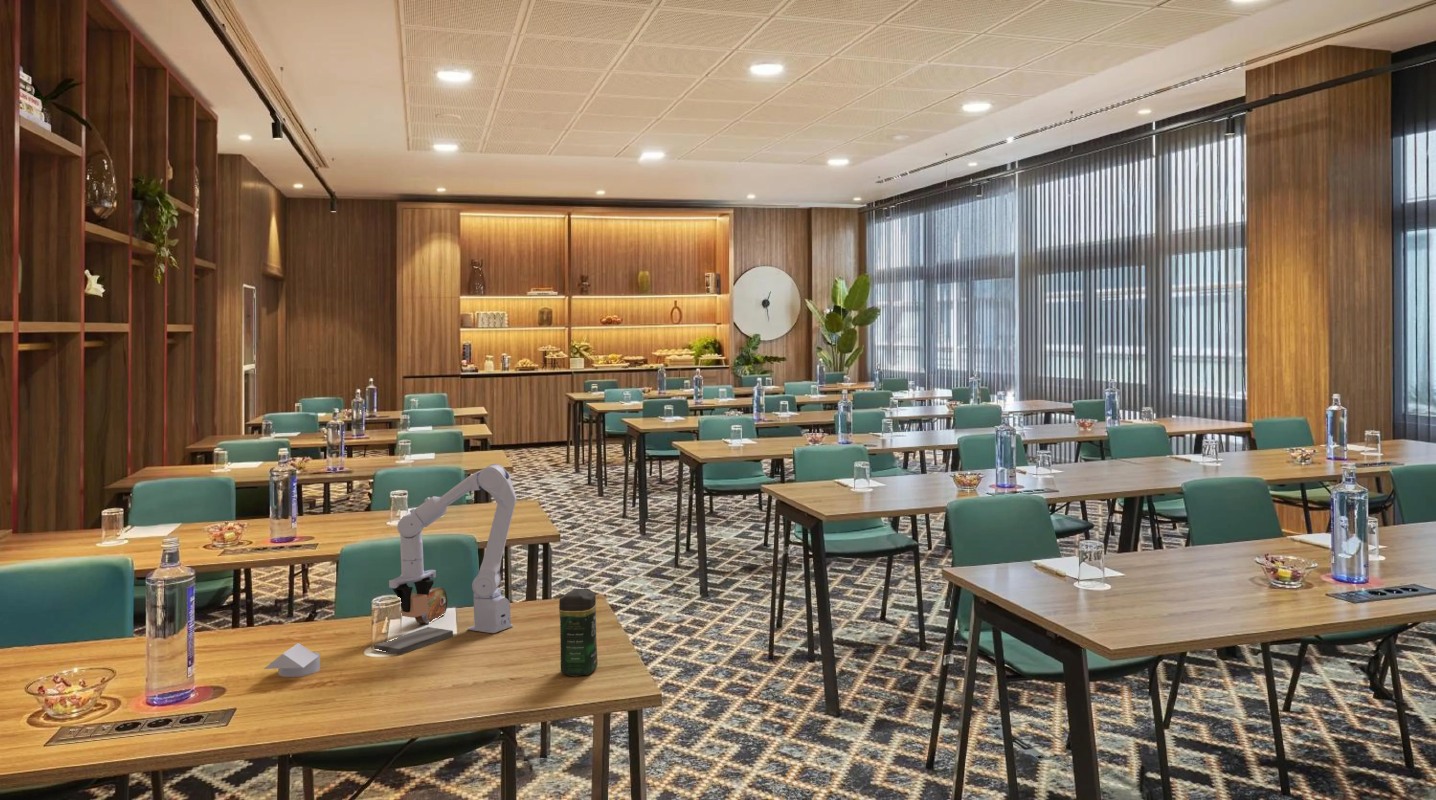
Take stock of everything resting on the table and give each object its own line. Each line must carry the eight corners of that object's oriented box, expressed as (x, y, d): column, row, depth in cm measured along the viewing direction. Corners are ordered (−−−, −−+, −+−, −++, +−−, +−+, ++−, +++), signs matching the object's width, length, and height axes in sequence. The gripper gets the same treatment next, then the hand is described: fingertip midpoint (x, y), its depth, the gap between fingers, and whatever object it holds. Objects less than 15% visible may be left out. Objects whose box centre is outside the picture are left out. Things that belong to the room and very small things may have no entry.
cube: (428, 613, 262) (427, 594, 261) (413, 617, 257) (413, 598, 257) (415, 611, 264) (414, 593, 264) (400, 615, 260) (399, 597, 260)
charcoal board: (453, 636, 255) (452, 630, 255) (399, 654, 240) (399, 648, 239) (428, 632, 260) (428, 626, 260) (374, 650, 244) (374, 644, 244)
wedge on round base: (304, 682, 220) (326, 664, 233) (302, 652, 220) (325, 636, 233) (264, 683, 220) (288, 665, 233) (262, 654, 220) (287, 638, 233)
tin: (422, 627, 265) (421, 596, 265) (412, 627, 266) (411, 596, 266) (449, 613, 280) (447, 584, 280) (438, 613, 281) (437, 584, 280)
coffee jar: (591, 677, 218) (588, 595, 217) (557, 677, 218) (554, 595, 218) (601, 664, 227) (599, 585, 227) (568, 664, 228) (566, 585, 227)
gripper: (422, 552, 268) (424, 601, 269) (380, 562, 256) (382, 613, 256) (440, 554, 265) (442, 603, 265) (398, 564, 252) (401, 616, 253)
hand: (414, 609), depth 261 cm, fingers closed on cube, 5 cm apart
